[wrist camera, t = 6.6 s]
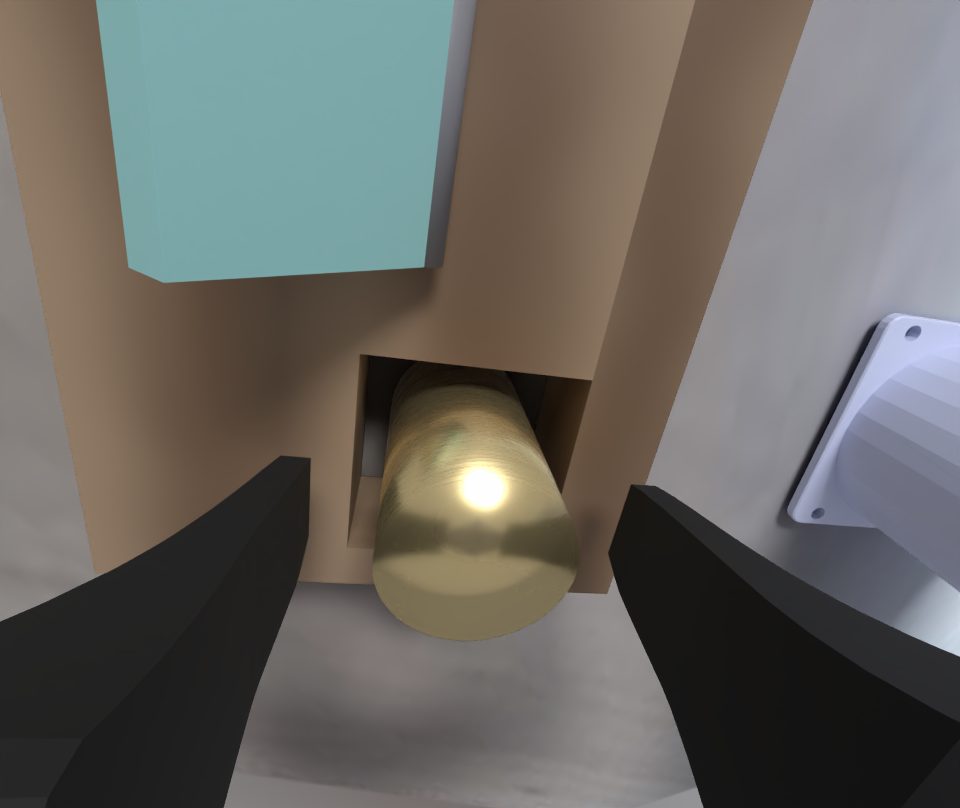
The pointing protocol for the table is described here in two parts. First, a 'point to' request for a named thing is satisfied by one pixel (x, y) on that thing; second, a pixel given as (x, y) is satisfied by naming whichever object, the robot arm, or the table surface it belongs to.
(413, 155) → the teal flat square block
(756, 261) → the table surface
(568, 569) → the peg
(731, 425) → the table surface
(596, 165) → the block
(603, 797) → the table surface
